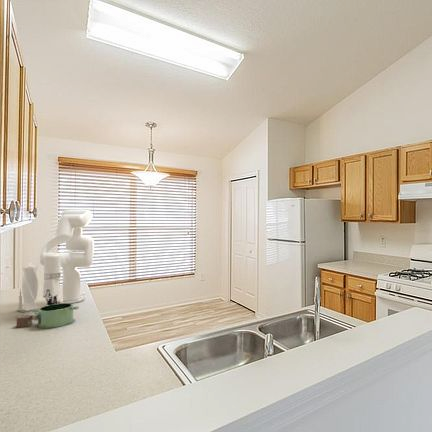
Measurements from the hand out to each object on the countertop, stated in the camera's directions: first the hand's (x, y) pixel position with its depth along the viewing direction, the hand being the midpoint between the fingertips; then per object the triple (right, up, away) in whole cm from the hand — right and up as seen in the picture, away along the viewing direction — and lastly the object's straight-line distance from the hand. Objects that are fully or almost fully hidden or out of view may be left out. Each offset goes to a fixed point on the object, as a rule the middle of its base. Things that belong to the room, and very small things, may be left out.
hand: (52, 308), depth 180 cm
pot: (+13, -4, -14) cm, 19 cm away
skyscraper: (-20, -4, +9) cm, 23 cm away
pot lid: (0, -1, 0) cm, 1 cm away
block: (-1, -4, -18) cm, 18 cm away
